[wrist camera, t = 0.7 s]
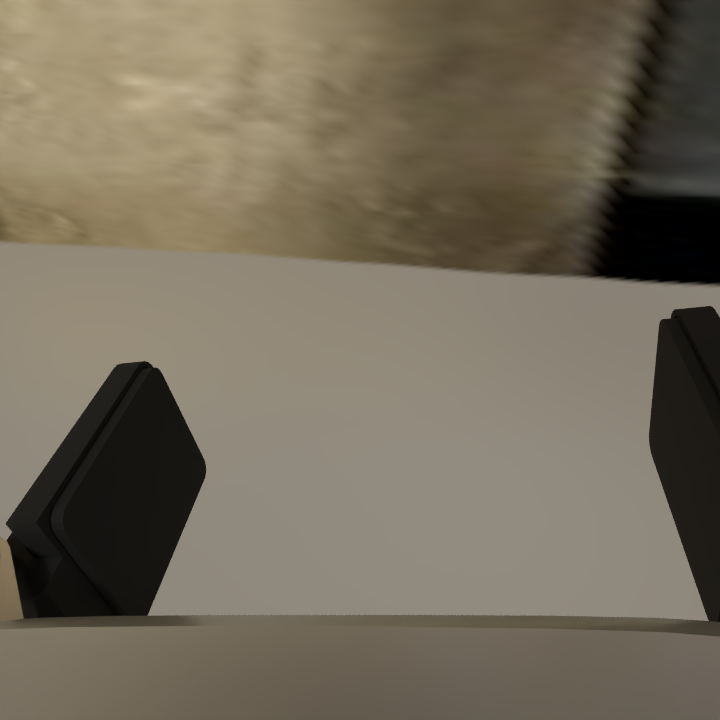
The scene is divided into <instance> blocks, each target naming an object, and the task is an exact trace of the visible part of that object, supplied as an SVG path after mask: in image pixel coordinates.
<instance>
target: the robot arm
mask: <svg viewBox="0 0 720 720" xmlns="http://www.w3.org/2000/svg"><path fill="white" fill-rule="evenodd" d="M649 443H650V449H651V454H652V457H653V460H654V463H655V465H656V469H657V472H658V474H659V478H660V480H661V483H662V486H663V489H664V492H665V495H666V498H667V501H668V504H669V507H670V509H671V512H672V515H673V518H674V521H675V524H676V527H677V530H678V533H679V536H680V539H681V542H682V545H683V548H684V551H685V553H686V556H687V559H688V562H689V565H690V568H691V571H692V574H693V577H694V579H695V583H696V586H697V588H698V591H699V594H700V597H701V600H702V603H703V606H704V609H705V612H706V615H707V617H708V620H709V621H698V620H682V619H666V618H636V617H586V616H493V615H490V616H489V615H481V616H480V615H479V616H478V615H466V616H465V615H200V616H199V615H194V616H193V615H192V616H147V615H148V613H149V610H150V608H151V606H152V603H153V600H154V598H155V596H156V594H157V591H158V589H159V587H160V584H161V582H162V579H163V577H164V574H165V572H166V570H167V567H168V565H169V563H170V560H171V558H172V555H173V553H174V550H175V548H176V546H177V543H178V541H179V539H180V536H181V534H182V531H183V529H184V527H185V524H186V522H187V519H188V517H189V514H190V512H191V510H192V507H193V505H194V503H195V500H196V498H197V496H198V493H199V491H200V488H201V486H202V484H203V481H204V479H205V475H206V465H205V461H204V458H203V456H202V454H201V452H200V450H199V448H198V446H197V444H196V442H195V440H194V438H193V436H192V434H191V432H190V430H189V428H188V426H187V424H186V421H185V419H184V417H183V416H182V413H181V411H180V409H179V407H178V405H177V403H176V401H175V399H174V397H173V395H172V393H171V391H170V389H169V387H168V385H167V383H166V381H165V379H164V377H163V374H162V373H161V371H160V370H159V369H158V368H153V367H152V365H151V364H150V363H149V362H145V361H143V362H133V363H123V364H119V365H117V366H116V367H115V368H114V369H113V371H112V372H111V373H110V375H109V376H108V378H107V379H106V381H105V382H104V383H103V385H102V386H101V388H100V389H99V391H98V392H97V393H96V395H95V396H94V398H93V399H92V401H91V402H90V403H89V405H88V406H87V408H86V409H85V411H84V412H83V413H82V415H81V416H80V418H79V419H78V421H77V422H76V424H75V425H74V426H73V428H72V429H71V431H70V432H69V434H68V435H67V436H66V438H65V439H64V441H63V442H62V444H61V445H60V446H59V448H58V449H57V451H56V452H55V454H54V455H53V456H52V458H51V459H50V461H49V462H48V464H47V465H46V466H45V468H44V469H43V471H42V472H41V474H40V475H39V477H38V478H37V480H36V481H35V482H34V484H33V485H32V487H31V488H30V489H29V491H28V492H27V494H26V495H25V497H24V498H23V500H22V501H21V502H20V504H19V505H18V507H17V508H16V509H15V511H14V512H13V514H12V515H11V517H10V518H9V519H8V521H7V522H6V525H7V526H8V527H9V528H10V530H11V531H12V533H11V535H10V536H9V538H8V539H7V541H6V540H5V539H3V538H1V537H0V720H720V317H719V316H718V314H717V312H716V311H715V309H714V308H713V307H711V306H706V307H696V308H686V309H676V310H674V311H673V312H672V315H671V319H662V320H661V321H660V324H659V333H658V344H657V354H656V366H655V376H654V387H653V398H652V408H651V419H650V430H649Z"/></svg>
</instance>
